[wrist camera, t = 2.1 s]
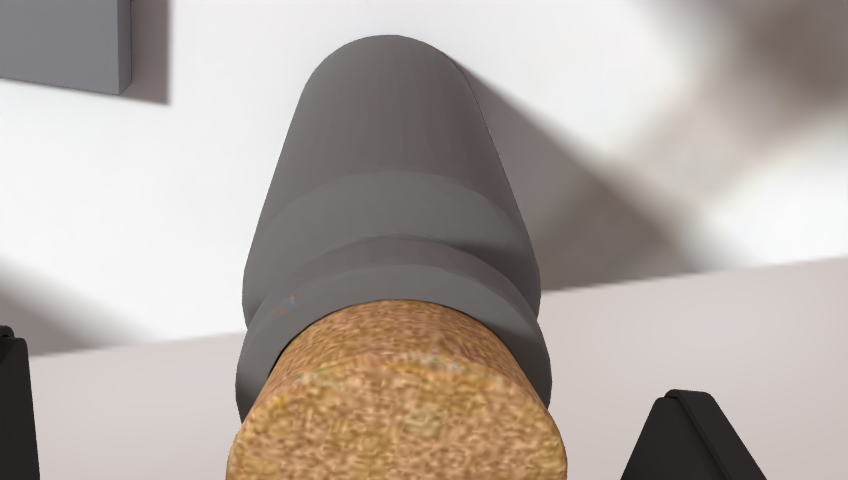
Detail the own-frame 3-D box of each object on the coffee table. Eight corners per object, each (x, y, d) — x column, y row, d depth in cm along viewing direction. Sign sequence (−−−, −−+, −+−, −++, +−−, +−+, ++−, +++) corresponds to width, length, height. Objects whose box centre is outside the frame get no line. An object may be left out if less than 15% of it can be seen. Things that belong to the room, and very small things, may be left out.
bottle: (514, 101, 23) (699, 445, 9) (410, 234, 25) (443, 665, 12) (361, -8, 21) (328, 233, 8) (263, 146, 23) (105, 542, 10)
